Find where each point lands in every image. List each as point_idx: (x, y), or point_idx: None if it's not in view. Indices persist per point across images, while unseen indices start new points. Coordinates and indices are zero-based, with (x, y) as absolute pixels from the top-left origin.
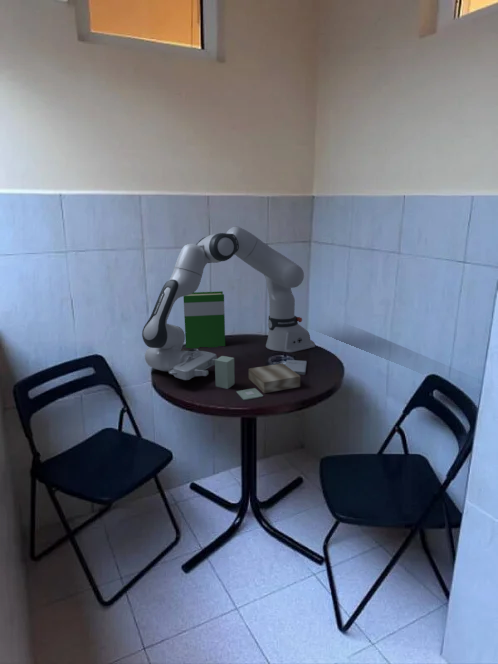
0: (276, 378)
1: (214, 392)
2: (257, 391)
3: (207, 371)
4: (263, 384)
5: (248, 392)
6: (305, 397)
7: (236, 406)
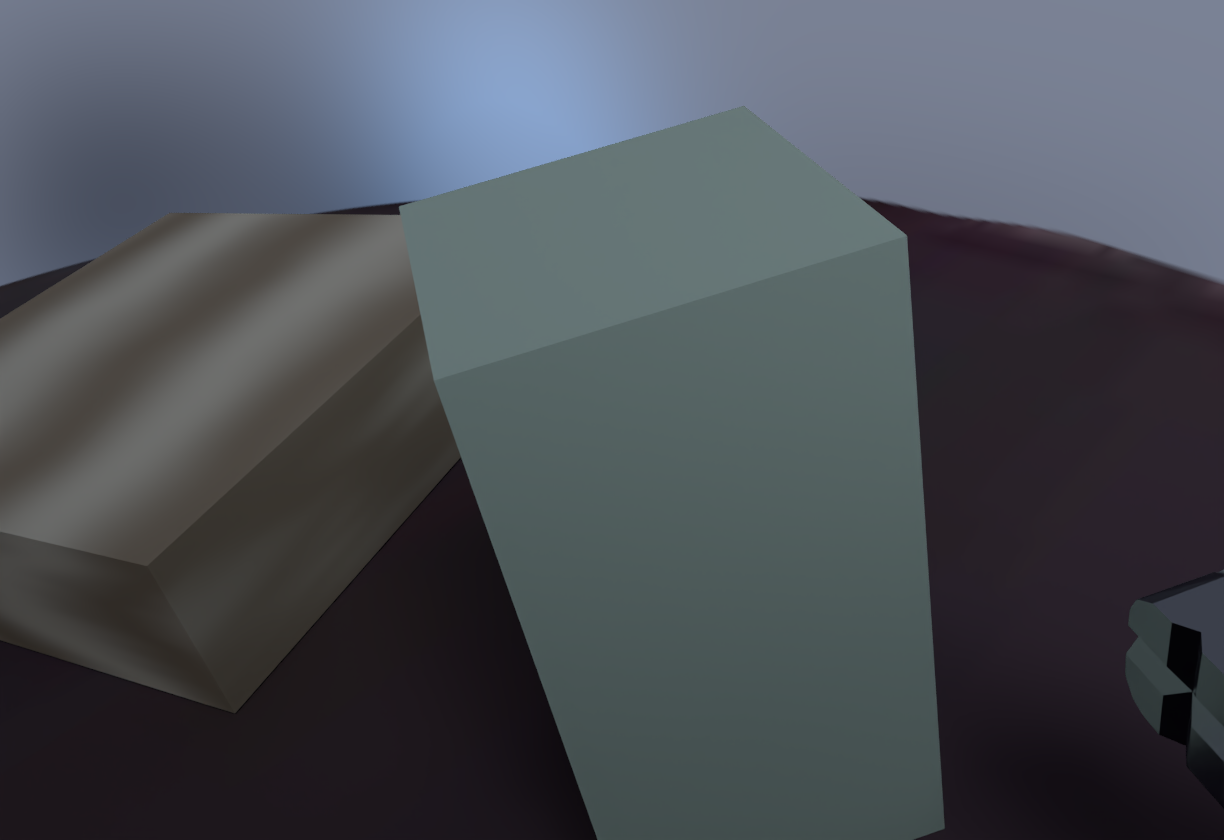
0: (341, 239)
1: (1124, 626)
2: None
3: (1169, 591)
4: None
5: None
6: None
7: (1051, 261)
